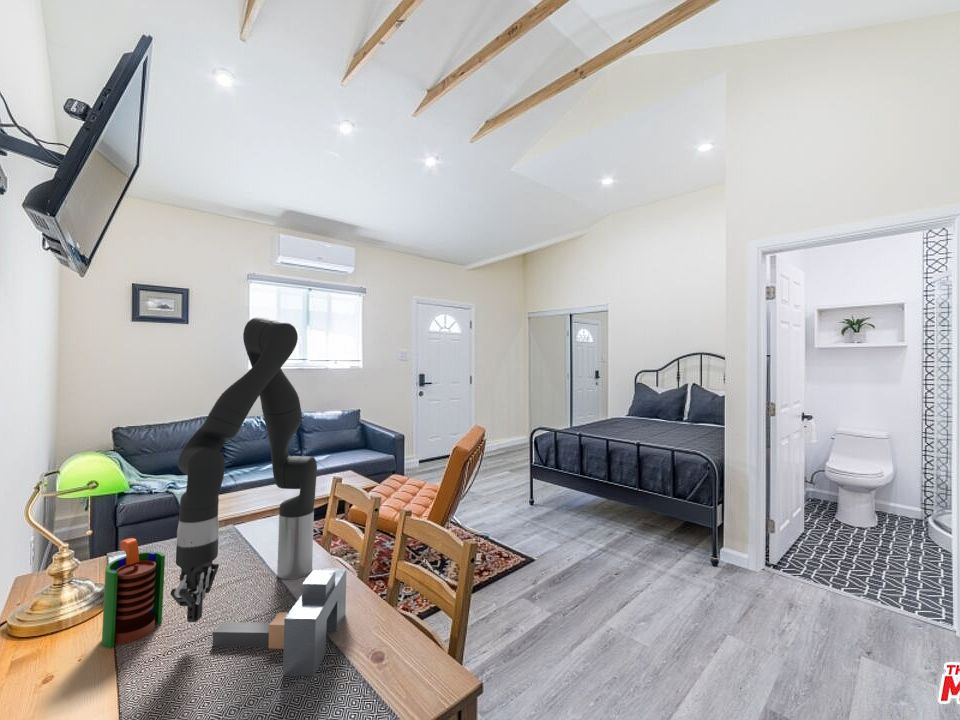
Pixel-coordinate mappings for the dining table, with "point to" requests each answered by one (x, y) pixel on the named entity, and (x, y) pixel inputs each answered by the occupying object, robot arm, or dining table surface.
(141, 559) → the motor
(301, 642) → the housing
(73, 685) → the dining table surface
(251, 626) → the plug
